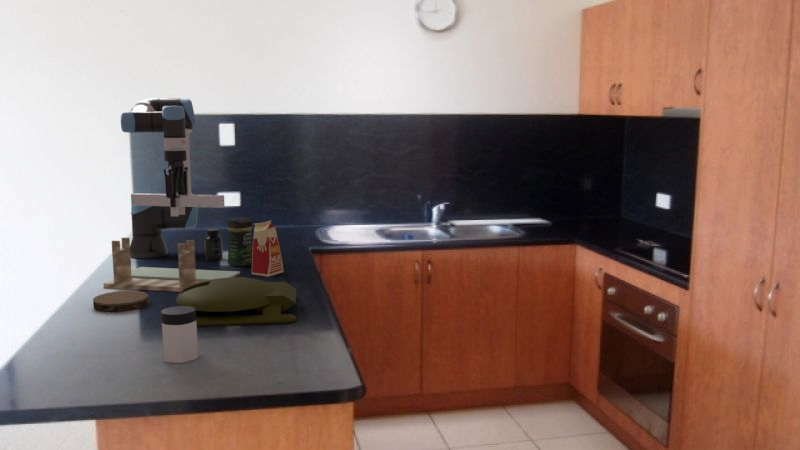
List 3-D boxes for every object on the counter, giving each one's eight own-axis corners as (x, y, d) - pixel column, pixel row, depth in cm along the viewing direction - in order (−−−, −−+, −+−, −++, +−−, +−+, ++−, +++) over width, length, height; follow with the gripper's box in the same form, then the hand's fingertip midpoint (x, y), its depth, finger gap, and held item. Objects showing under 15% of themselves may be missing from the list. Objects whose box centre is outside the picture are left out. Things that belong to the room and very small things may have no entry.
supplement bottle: (225, 257, 300) (224, 228, 298) (219, 261, 293) (218, 231, 291) (208, 257, 300) (207, 228, 299) (202, 260, 294) (201, 231, 292)
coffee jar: (239, 268, 280) (238, 220, 277) (224, 265, 284) (223, 218, 281) (257, 263, 288) (255, 216, 285) (242, 261, 292) (240, 215, 289)
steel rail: (131, 205, 265) (130, 194, 264) (137, 203, 269) (136, 193, 268) (219, 207, 258) (219, 196, 258) (224, 206, 262) (224, 195, 262)
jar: (186, 349, 185) (184, 303, 183) (206, 356, 180) (204, 309, 178) (154, 358, 178) (152, 310, 176) (174, 366, 173) (171, 317, 171)
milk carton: (283, 271, 274) (282, 218, 271) (269, 276, 266) (267, 222, 263) (263, 269, 278) (261, 217, 275) (248, 274, 270) (247, 220, 266)
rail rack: (103, 287, 249) (100, 241, 246) (118, 281, 258) (116, 236, 255) (194, 292, 243) (192, 244, 240) (206, 286, 251) (204, 240, 249)
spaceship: (296, 297, 238) (296, 268, 236) (296, 325, 208) (295, 291, 206) (185, 301, 233) (184, 271, 232) (168, 329, 203) (166, 295, 202)
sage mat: (119, 277, 264) (119, 274, 264) (140, 268, 278) (140, 266, 278) (224, 282, 257) (223, 280, 257) (240, 273, 271) (240, 271, 270)
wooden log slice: (90, 315, 217) (89, 305, 216) (96, 301, 232) (96, 292, 231) (147, 311, 221) (146, 301, 221) (150, 298, 236) (149, 289, 236)
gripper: (173, 151, 251) (176, 218, 255) (196, 148, 268) (198, 212, 271) (153, 151, 253) (156, 218, 256) (177, 148, 269) (179, 211, 273)
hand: (178, 215), depth 264 cm, fingers closed on steel rail, 4 cm apart
